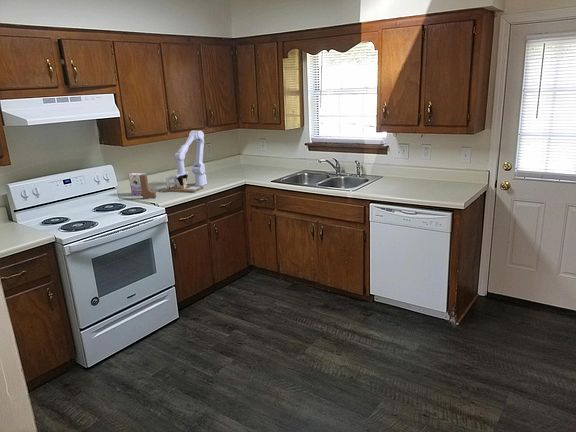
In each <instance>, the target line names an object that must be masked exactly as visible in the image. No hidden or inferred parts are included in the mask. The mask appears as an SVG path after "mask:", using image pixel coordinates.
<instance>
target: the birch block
mask: <svg viewBox="0 0 576 432" xmlns="http://www.w3.org/2000/svg"><path fill="white" fill-rule="evenodd" d="M178 186H180V184H179V183H178ZM187 186H188V183H187V181H186V178H183V186H180V189H186V188H187Z"/></svg>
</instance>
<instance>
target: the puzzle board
mask: <svg viewBox="0 0 576 432" xmlns="http://www.w3.org/2000/svg"><path fill="white" fill-rule="evenodd" d="M190 187H200V188H198V189H196V190H186V189H188V188H190ZM186 189H180V185H178V186H175V185H173V186H170V189H167V188H166V189H164V192H168V193H189V194H190V193H191V194H195V193H197V192H199V191H201V190H203V189H204V186H194V185H187V188H186Z"/></svg>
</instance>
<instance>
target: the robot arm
mask: <svg viewBox="0 0 576 432" xmlns="http://www.w3.org/2000/svg"><path fill="white" fill-rule="evenodd" d="M204 138H205V133H204V132H203V131H202V130H195V129H194V130H191V131H190V132H189V134H188V137H187V139H186V141H185V143H184V144H182V145H181V146H180V148H179V149H178V150H177V152H176V153H174V156H173V158H174V160H175V164H176V168H177V169H176V170H177V173H176V174H174V175H175V177H176V179H177V182H178V185H179V184H180V185H179V186H183V178H186V182H187V181H188V180H187V179H188V177H189V171H186V168H185V158H186V154H187V152H188V151H189V147H190V146H191V144H192V143H193V141H195V142H196V151H195V152H196V153H195V162H194V163H193V164H192V165H193V166H192V167H191V171H192V173H193V175H194V178H195V179H194V180H195V184H193V186H202V187H204V186H205V185H208V181H207V175H206V166H205V163H204V162H203V160H204V159H203V157H204V146H205V139H204Z"/></svg>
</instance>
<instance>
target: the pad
mask: <svg viewBox="0 0 576 432" xmlns="http://www.w3.org/2000/svg"><path fill="white" fill-rule="evenodd" d="M198 188H200V187H190V188H188V189H186V190H196V189H198Z"/></svg>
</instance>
